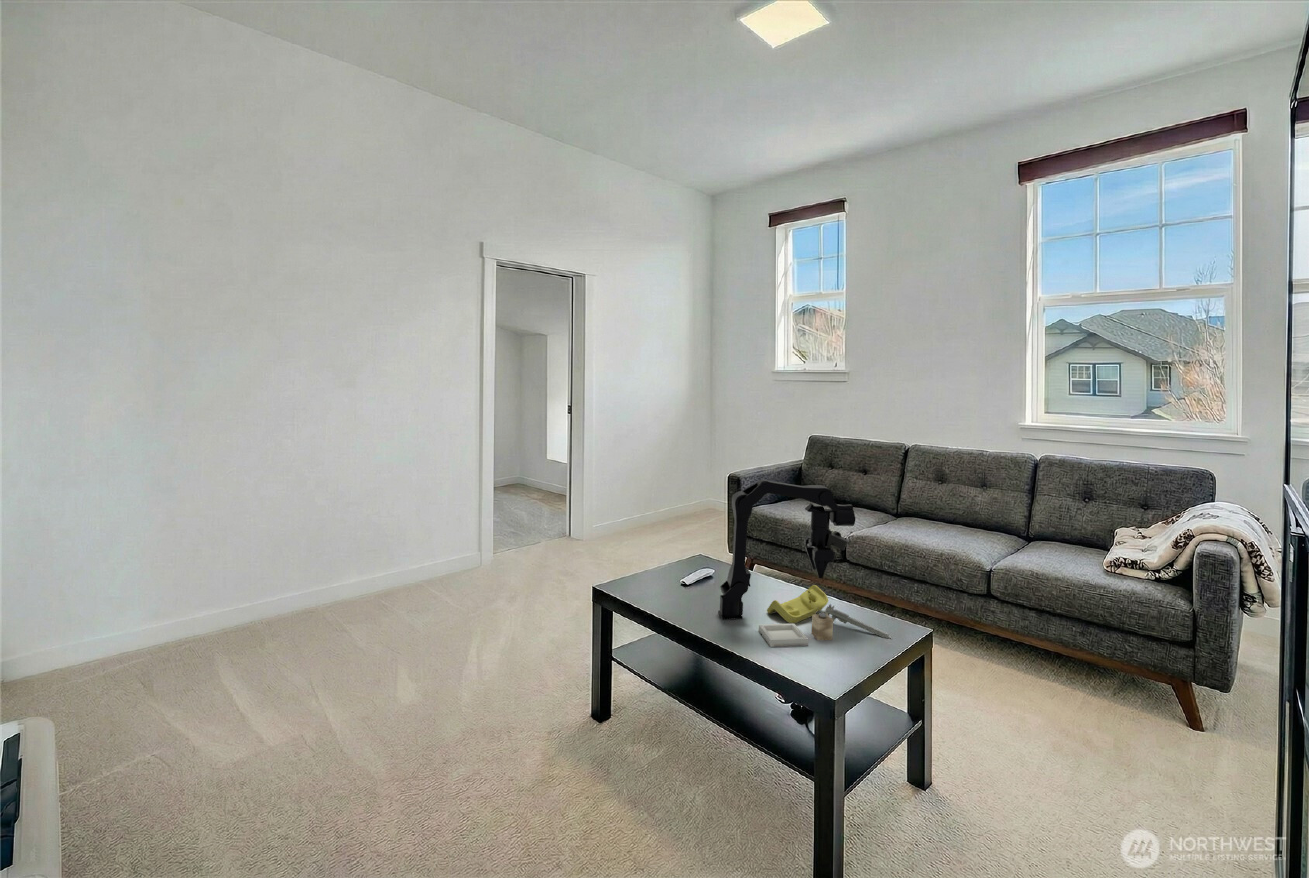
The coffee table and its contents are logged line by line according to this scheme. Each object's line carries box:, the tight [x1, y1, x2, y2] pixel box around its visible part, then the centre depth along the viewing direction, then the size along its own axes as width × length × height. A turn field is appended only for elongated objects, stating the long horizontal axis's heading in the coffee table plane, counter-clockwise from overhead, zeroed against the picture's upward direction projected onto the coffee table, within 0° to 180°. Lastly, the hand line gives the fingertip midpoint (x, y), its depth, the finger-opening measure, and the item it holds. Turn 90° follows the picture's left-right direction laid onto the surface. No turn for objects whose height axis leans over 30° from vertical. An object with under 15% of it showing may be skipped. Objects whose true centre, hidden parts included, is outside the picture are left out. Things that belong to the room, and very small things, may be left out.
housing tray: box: [758, 623, 809, 648], centre depth 174 cm, size 11×11×2 cm
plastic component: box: [766, 584, 829, 624], centre depth 194 cm, size 20×7×10 cm
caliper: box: [824, 603, 893, 639], centre depth 181 cm, size 20×1×6 cm, turn 54°
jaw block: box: [811, 612, 834, 641], centre depth 176 cm, size 4×4×7 cm
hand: (817, 573), depth 191 cm, fingers open, 9 cm apart
